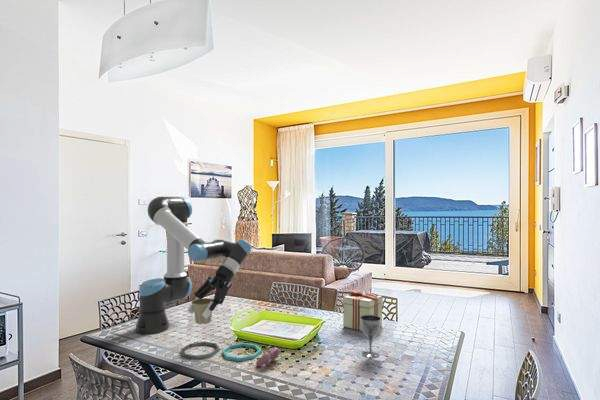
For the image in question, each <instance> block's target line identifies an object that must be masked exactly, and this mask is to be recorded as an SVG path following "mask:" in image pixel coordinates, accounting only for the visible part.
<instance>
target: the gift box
mask: <svg viewBox="0 0 600 400" xmlns="http://www.w3.org/2000/svg"><path fill="white" fill-rule="evenodd" d="M348 293H349V294H348V295H346V296H343V297H342V304H343V308H342V309H343V312H342V313H343V319H342V320H343V321H342V322H343V324H342V325H343V328H347V329H352V330H356V331H360V332H363V331H362V328H361V316H363V315H375V316H378V317H380V319H381V323H380V327H382V326H383V305H382V304H383V302H384V298H383V295H380V294H379V295H378V294H376V293H374V292H367V293H365V292H361V291H359V290H356V289H352V290H350V291H348Z"/></svg>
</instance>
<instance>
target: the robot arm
mask: <svg viewBox="0 0 600 400" xmlns="http://www.w3.org/2000/svg"><path fill="white" fill-rule="evenodd" d="M192 214H193V205H192V203H191V201H189V199H188V198H186V197H183V196H156V197H154V198H153V199H152V200H151V201H150V202H149V204H148V205H147V215H148V217H149V219H150V220H151V221H152V222H153V223H154V224H156V225H157V226H161V228H163V229H164V230H165V231H166V272H165V273H164V275H163V278H162V277H161V278H160V277H159V278H152V279H147V280H145V281H143V282H142V283H141V284H140V285H139V292H138V293H139V314H138V319H137V321H136V324H135V332H136V333H138V334H142V335H143V334H144V335H150V334H158V333H162V332H164V331H166V330H168V329H169V327H170V322H169V319H168V315H167V313H166V305H168V304H171V303H174V302H178V301H182V300H184V299H185V300H186V298H188V297H189V296H190V295H191V293H192V291H193V282H192V281H191V278H190V277H189V276H188V273H187V272H186V271H185V249H186V250H187V256H188V258H189V259H190V260H191V261H192V262H203V261H208V260H213V259H219V258H224V259H223V261H222V262H221V264H220V265H219V266H218V268H217V269H216V271H215V276H214V277H211V276H208V278H207V279H206V281H205V282H203V284H202V285H201V286H200V287H199V288H198V289H197V290H196V291H195V292H194V294H193V295H194V296H195V298H194V299H193V301H194V300H197V299H203V298H205V297H206V296H207V295H208V294H209V293H210V292H212V291H214V290H215V293H214V297H213V298H212V299H213V300H212V301H213V302H212V301H211V302H210V304H209V305H208V307H207V308H206V310H205V311H204V312H203V314H202V316H203V317H205V318H206V319H207V318H208V317H209V315H210V314H211V312H212V313H213V311H214V310H215V308H216V307H218V305H222V304H223V303H224V301H225V299H226V296H227V295H228V292H229V289H230V288H231V286H232V283H231V281H232V280H233V277H234V276H235V274H236V273H237V272H238V270H239V268H240V267H241V266H242V264H243V262H244V261H245V260H246V258H247V257H248V255H249V254H250V252H251V250H252V245H251V244H250V242H249V241H247V240H246V239H244V238H240V239H237V241H236V242H231V241H228V240H224V239H217V238H216V239H213V241H210V242H206V241H204V240H203V239H202V238H201V237H200V236H198V235H197V234H196V233H195V232H194V231H193V230H192V229H191V228H189V226H187V224H188V219H189V218H190V217H191V215H192ZM188 307H189V308H188V309H187V312H189V313H190V314H191V315H193V314H194V308H193V305H192V303H191V304H190V305H189V306H188Z"/></svg>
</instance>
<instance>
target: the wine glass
mask: <svg viewBox="0 0 600 400" xmlns="http://www.w3.org/2000/svg"><path fill="white" fill-rule="evenodd" d="M380 323H381V319H380V317H378V316H375V315H363V316H361V328H362V331H361V332H362V333H363V334H364V336H366V338H367V340H368V343H369V344H368V345H369V350H364V351H363V352H361V355H362V357H364V358H366V359H367V358H368V359H376V358H377V359H378V358H379V357H380V353H378V352H377V351H375V350H372V347H373V341H374V339H375V337H376V336H377V335H378V334H379V333H380V329H381V326H380Z"/></svg>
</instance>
